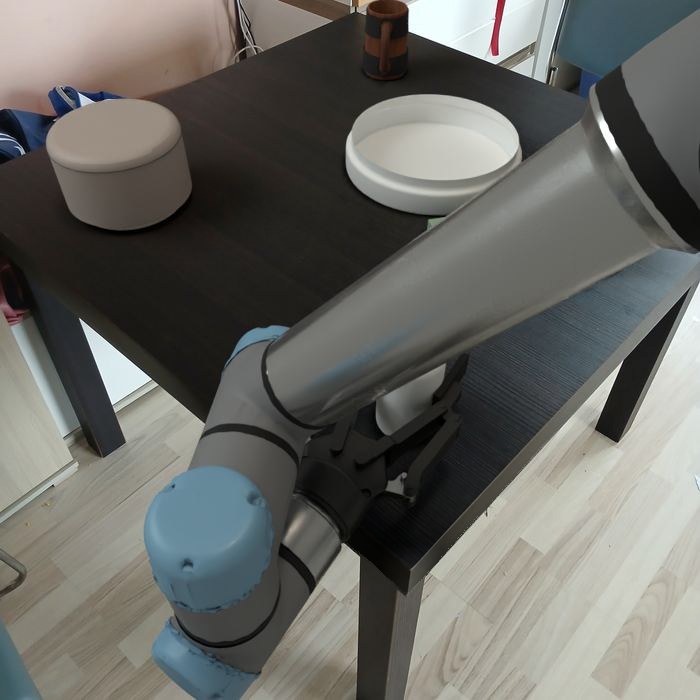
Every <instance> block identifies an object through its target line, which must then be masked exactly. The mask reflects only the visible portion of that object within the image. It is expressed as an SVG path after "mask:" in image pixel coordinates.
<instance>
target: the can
mask: <svg viewBox="0 0 700 700" xmlns="http://www.w3.org/2000/svg"><path fill="white" fill-rule="evenodd" d="M446 367H447V363H445V364H443V365H441V366H440V367H438V368H436V369H434V370H432V371H430V372H428V373H426V374H425V375H423V376H421V377H419V378H417V379H415V380H413V381H411V382H410V383H408V384H406V385H404V386H402V387H400V388H398V389H396V390H395V391H393V392H391V393H389V394H387V395H385V396H383V397H381V398H380V399H378V400H376V401H375V402H376V405H375V420H376V424H377V426H378V428H379V429H380V431H381V432H382V433H383V434H384V435H391V434H392V433H394V432H395V431H397V430H398V429H400V428H401V427H402V426H404V425H405V424H407V423H408V422H410V421H411V420H413V419H414V418H415V417H417V416H418V415H420V414H421V413H423V412H424V411H426V410H427V409H428V408H430V407H431V406H432V400H433V394H434V393H435V391H436V390H437V389H438V388H439V386H440V385H441V384H442V382H443V380H444V378H445V373H446Z"/></svg>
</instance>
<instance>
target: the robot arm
mask: <svg viewBox="0 0 700 700" xmlns="http://www.w3.org/2000/svg"><path fill="white" fill-rule="evenodd" d="M444 217H445V218H443V217H442V218H443V219H442V220H440V221H439V222H438V223H436V224H435V225H433V226H432V227H431V228H429V229H428V230H427V229H426V230H425V231H424V232H422V233H421V234H419V235H418V236H417V237H415V238H414V239H412V240H411V241H410V242H409V243H407V244H406V245H404V246H403V247H401V248H400V249H399V250H397V251H396V252H394V253H393V254H391V255H390V256H389V257H387V258H386V259H384V260H383V261H382V262H381V263H379V264H377V265H376V266H375V267H373V268H372V269H371V270H369V271H368V272H367V273H365V274H363V275H362V276H361V277H360V278H357V280H355V281H354V282H353V283H351V284H350V285H348V286H347V287H346V288H344V289H343V290H342V291H340V292H338V293H337V294H336V295H334V296H333V297H332V298H330V299H329V300H327V301H326V302H324V303H323V304H322V305H321V306H319V307H318V308H316V309H315V310H314V311H312V312H311V313H309V314H308V315H306V316H305V317H303V318H302V319H301V320H300V321H298V322H296V323H295V324H294V325H292V326H291V327H288V326H283V325H275V324H273V325H270V326H268V327H256V328H253V329H251V330H248V331H247V332H246V333H245V334H243V336H242V337H240V339H239V340H238V342H237V344H236V345H235V348H234V349H233V351H232V353H231V356H230V357H229V359H228V360H227V362H226V363H225V365H224V368H223V371H222V373H221V376H220V382H219V385H218V387H217V390H216V392H215V393H216V394H215V396H214V398H213V401H212V404H211V407H210V409H209V412H208V415H207V417H206V421H205V423H204V426H203V429H202V431H201V434H200V437H199V439H198V442H197V444H196V447H195V449H194V451H193V455H192V457H191V460H190V462H189V465H188V468H187V470H186V471H183V472H181V473H180V474H178V475H176V476H174V477H173V478H172V480H171V481H169V483H168V484H166V485H165V486H164V487H163V488H162V489H161V490H160V491H158V493H157V494H156V495H154V497H153V499H152V500H151V502H150V504H149V506H148V509H147V511H146V514H145V518H144V522H143V542H144V547H145V551H146V553H147V556H148V558H149V559H148V563H149V565H150V567H151V575H152V576H153V581H155V583H156V585H157V587H158V588H159V590H160V592H161V593H162V594H163V595H165V598H166V600H167V601H168V603H169V605H170V607H171V609H172V611H173V615H171V616H169V617H168V618H167V620H166V621H165V622H164V623H165V624H164V627H163V628H162V630H161V631H160V632H159V633H158V636H157V637H156V638H155V640H154V642H153V643H152V646H151V653H150V654H151V657H152V660H153V662H154V663H155V664H156V665H157V666H158V668H159V670H161V671H162V672H163V673H164V674H165V675H166V677H168V678H169V679H170V680H171V681H172V682H174V684H176V685H177V686H178V687H179V688H180V689H182V690H183V691H184V692H185V693H187V694H188V695H189V696H190V697H191V698H193V699H195V700H241V699H242V697H243V696H244V695H245V694H246V692H247V691H248V690H249V688H250V687H251V686H252V685H253V683H255V680H258V679H259V678H260V677H261V675H262V674H263V673H262V671H263V668H264V667H265V665H266V664H267V662H268V661H269V660H270V658H271V656H272V655H273V654H274V652H275V650H276V649H277V647H278V645H279V644H280V642H281V641H282V640H283V638H284V636H285V635H286V633H288V630H289V629H290V627H292V624H293V623H294V621H295V620H296V619H297V617H298V615H299V614H300V613H301V611H302V609H303V608H304V607H305V605H306V603H307V602H308V600H309V599H310V597H311V596H312V594H313V593H314V591H315V590H316V588H317V586H318V585H319V584H320V582H321V580H322V579H323V578H324V576H325V575H326V573H327V572H328V571H329V569H330V567H332V565H333V563H334V562H335V561H336V559H337V557H338V556H339V555H340V553H341V552H342V548H343V545H342V544H346V543H347V542H348V541H349V540H350V539H351V537H352V535H353V534H354V533H355V531H356V529H357V528H358V527H359V525H360V524H361V522H362V521H363V519H364V518H365V516H366V515H367V513H368V512H369V510H370V509H371V507H372V506H373V505H374V504H375V503H376V502H378V501H380V500H382V499H384V497H389V498H394V499H397V500H400V501H401V503H402V505H403V506H404V508H413V507H414V506H415V505H416V502H417V498H418V495H419V491H420V488H421V486H422V485H423V484H424V483H425V481H426V480H427V479H428V478H429V476H430V475H431V474H432V473H433V471H434V470H435V468H436V467H437V466H438V465H439V464H440V462H441V461H442V460H443V458H444V457H445V456H446V455H447V453H448V452H449V450H450V449H451V448H452V446H454V444H455V443H456V442H457V440H458V439H459V438H460V436H461V431H462V428H463V423H464V417H463V415H461V414H460V413H455V412H454V409H455V407H456V406H457V404H458V403H459V401H460V400H461V399H462V394H463V388H464V384H462V383H461V380H462V379H463V378H464V377H465V375H466V373H467V371H468V370H467V369H468V364H469V359H470V354H469V353H468V352H470V351H471V350H473V349H475V348H477V347H479V346H481V345H483V344H485V343H487V342H488V341H490V340H492V339H494V338H496V337H498V336H500V335H502V334H503V333H505V332H507V331H509V330H511V329H513V328H515V327H516V326H518V325H520V324H522V323H524V322H526V321H528V320H530V319H531V318H534V317H535V316H537V315H539V314H541V313H543V312H545V311H547V310H548V309H550V308H552V307H554V306H556V305H558V304H559V303H561V302H563V301H565V300H568V299H569V298H571V297H573V296H575V295H576V294H579V293H580V292H582V291H584V290H586V289H588V288H590V287H591V286H594V285H595V284H597V283H600V282H601V281H603V280H605V279H607V278H608V277H610V276H612V275H614V274H616V273H618V272H621V270H624V269H626V268H627V267H629V266H631V265H634V264H635V263H637V262H638V261H641V260H642V259H644V258H646V257H647V256H650V255H652V254H653V253H655V252H657V251H659V250H673V251H677V252H682V253H685V254H690V255H697V254H699V253H700V8H698V9H696V10H695V11H694V12H692V13H690V14H689V15H688V16H686V17H685V18H683V19H682V20H681V21H679V22H678V23H675V24H674V25H673V26H671V27H670V28H669V29H667V30H666V31H664V32H663V33H661V34H660V35H659V36H657V37H656V38H654V39H653V40H651V41H650V42H648V43H647V44H646V45H644V46H643V47H641V49H639V50H638V51H636V52H635V53H634V54H632V55H631V56H630V57H629V58H627V59H626V60H625V61H624V62H622V63H620V64H619V65H618V66H616V67H615V68H614V69H612V70H611V71H610V72H608V73H607V74H606V75H604V76H603V77H602V78H600V79H599V80H597V81H596V82H595V83H593V84H592V85H591V86H590V88H589V91H588V95H587V99H586V102H585V108H584V111H583V114H582V116H581V118H580V120H579V121H577V122H575V123H574V124H573V125H572V126H570V127H568V128H567V129H565V130H564V131H563V132H561V134H559V135H557V136H556V137H555V138H553V139H552V140H551V141H549V142H547V144H545V145H544V146H542V147H541V148H540V149H538V150H537V151H535V152H534V153H533V154H531V155H530V156H528V157H527V158H526V159H524V160H523V161H521V163H520V164H519V165H517V166H516V167H514V168H513V169H512V170H510V171H509V172H507V173H506V174H505V175H503V176H502V177H500V178H499V179H498V180H496V181H495V182H493V183H492V184H491V185H489V186H488V187H487V188H485V189H484V190H482V191H481V192H480V193H478V194H477V195H475V196H474V197H473V198H471V199H470V200H468V201H467V202H466V203H464V204H463V205H461V206H460V207H459V208H457V209H456V210H454V211H453V212H452V213H450V214H449V215H445V216H444ZM456 358H457V360H456V361H455V362H454V364H453V365H452V366H451V368H450V370H449V371H448V373H446V375H445V376H444V380H443V382H442V384H441V385H440V386H439V388H438V389H437V390H436V391H435V393H434V394H433V400H432V406H431V407H430V408H428V409H427V410H426V411H424V412H423V413H421V414H420V415H418V416H417V417H415V418H414V419H413V420H411V421H410V422H408V423H407V424H405V425H404V426H402V427H401V428H400V429H398V430H397V431H395V432H394V433H392V434H391V435H386V434H384V436H382V437H380V438H379V439H377V440H376V439H373V438H370V437H366V436H363V435H362V434H361V433H360V432H359V431H358V430H355V429H354V428H355V425H356V421H357V419H358V415H359V410H361V409H363V408H364V407H367V406H368V405H370V404H372V403H374V402H376V401H377V400H378V399H380V398H381V397H383V396H385V395H387V394H389V393H391V392H393V391H395V390H396V389H398V388H400V387H402V386H404V385H406V384H408V383H410V382H411V381H413V380H415V379H417V378H419V377H421V376H423V375H425V374H426V373H428V372H430V371H432V370H434V369H436V368H438V367H440V366H441V365H443V364H445V363H446V364H447V363H449V362H451V361H453V360H454V359H456ZM333 424H335V427H334V430H333V432H330V433H327V434H324V435H320V436H318V437H315V438H314V436H315V434H317V433H319V432H320V431H323V430H325V429H326V428H328V427H329V426H331V425H333ZM434 433H435V435H434V436H432V438H431V439H430V441H429V442H428V443H427V444H426V445H425V447H424V448H423V449H422V451H421V452H420V453H419V454H418V456H417V457H416V458H415V459H414V461H413V462H412V463H411V465H410V466H409V468H408V470H407V472H404V471H403V472H401V473H400V474H399V475H397V477H396V478H395V479H394V480H389V477H388V469H389V468H390V467H392V466H393V465H394V464H395V463H396V461H397V460H398V459H399V458H400V457H402V456H404V455H405V454H406V453H407V452H409V451H410V450H411V449H413V448H414V447H416V446H417V445H418V444H421V442H423V441H424V440H425V439H427V438H428V437H430V436H431V435H433V434H434Z"/></svg>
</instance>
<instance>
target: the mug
mask: <svg viewBox="0 0 700 700" xmlns="http://www.w3.org/2000/svg"><path fill="white" fill-rule="evenodd" d="M365 8H366V9H365V23H364V33H365V36H364V37H365V39H364V45H363V52H362V70H363V71H364V73H365V75H367V76H368V77H370V78H372V79H375V80H379V81H392V80H397V79H399V78H402V77H403V76H404V75H405V73H406V72H407V70H408V69H409V46H408V34H409V30H410V29H409V28H410V27H409V26H410V25H409V19H410V18H409V17H410V8H409V6H408V4H407V3H405V2H403V1H401V0H373V1H371V2H369V3H368V5H367V6H366V7H365Z"/></svg>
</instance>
